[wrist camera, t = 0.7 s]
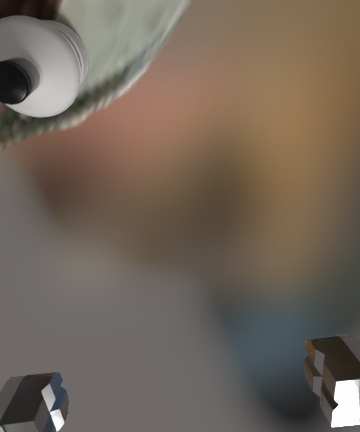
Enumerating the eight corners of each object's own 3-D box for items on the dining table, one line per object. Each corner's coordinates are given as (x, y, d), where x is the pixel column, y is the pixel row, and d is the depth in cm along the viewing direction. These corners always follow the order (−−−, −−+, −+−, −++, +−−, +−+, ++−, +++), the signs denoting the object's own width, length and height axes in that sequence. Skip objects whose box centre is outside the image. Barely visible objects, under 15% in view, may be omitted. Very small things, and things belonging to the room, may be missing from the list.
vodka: (67, 9, 40) (25, -35, 16) (99, 76, 46) (106, 122, 21) (7, 36, 40) (-130, 34, 16) (46, 100, 46) (-9, 175, 21)
